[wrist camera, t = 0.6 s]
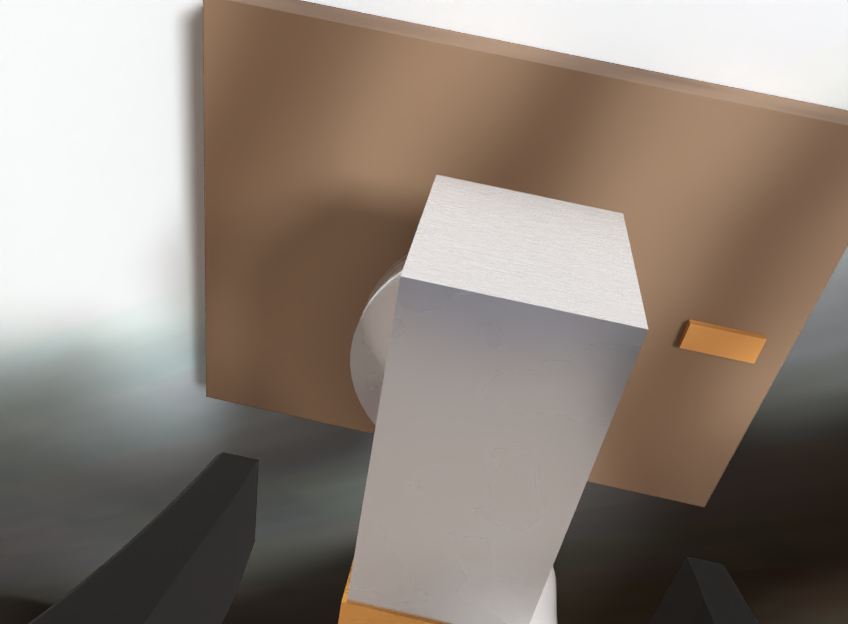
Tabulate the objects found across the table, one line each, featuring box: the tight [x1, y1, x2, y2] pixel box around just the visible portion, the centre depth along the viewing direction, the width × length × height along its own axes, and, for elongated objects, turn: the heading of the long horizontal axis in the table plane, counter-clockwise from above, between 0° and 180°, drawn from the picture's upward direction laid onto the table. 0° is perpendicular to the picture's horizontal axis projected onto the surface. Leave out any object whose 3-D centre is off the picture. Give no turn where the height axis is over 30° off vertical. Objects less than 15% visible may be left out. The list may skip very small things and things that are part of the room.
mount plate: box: [203, 0, 848, 507], centre depth 19 cm, size 16×12×4 cm
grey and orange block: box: [338, 175, 648, 624], centre depth 15 cm, size 6×9×5 cm, turn 171°
